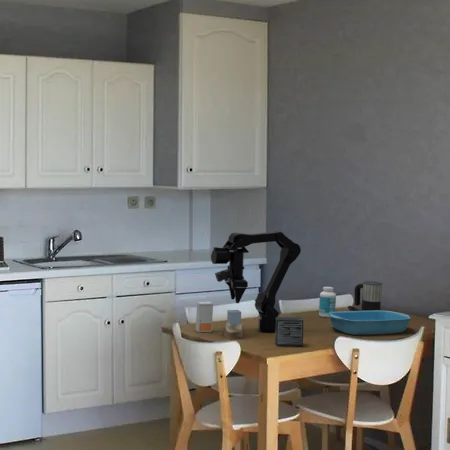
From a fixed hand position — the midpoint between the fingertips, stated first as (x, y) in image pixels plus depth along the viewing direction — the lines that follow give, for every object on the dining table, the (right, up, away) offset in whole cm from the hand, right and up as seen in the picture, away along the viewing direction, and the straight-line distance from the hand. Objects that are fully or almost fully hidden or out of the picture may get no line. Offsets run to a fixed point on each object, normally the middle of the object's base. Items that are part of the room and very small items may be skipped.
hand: (235, 301), depth 365 cm
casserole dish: (+57, -14, +16) cm, 61 cm away
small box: (+21, -16, -18) cm, 32 cm away
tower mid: (-1, -11, -9) cm, 14 cm away
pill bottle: (+43, -11, +45) cm, 63 cm away
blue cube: (-1, -8, -9) cm, 12 cm away
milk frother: (+62, -11, +55) cm, 83 cm away
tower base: (-1, -14, -9) cm, 17 cm away
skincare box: (-13, -13, +2) cm, 18 cm away
